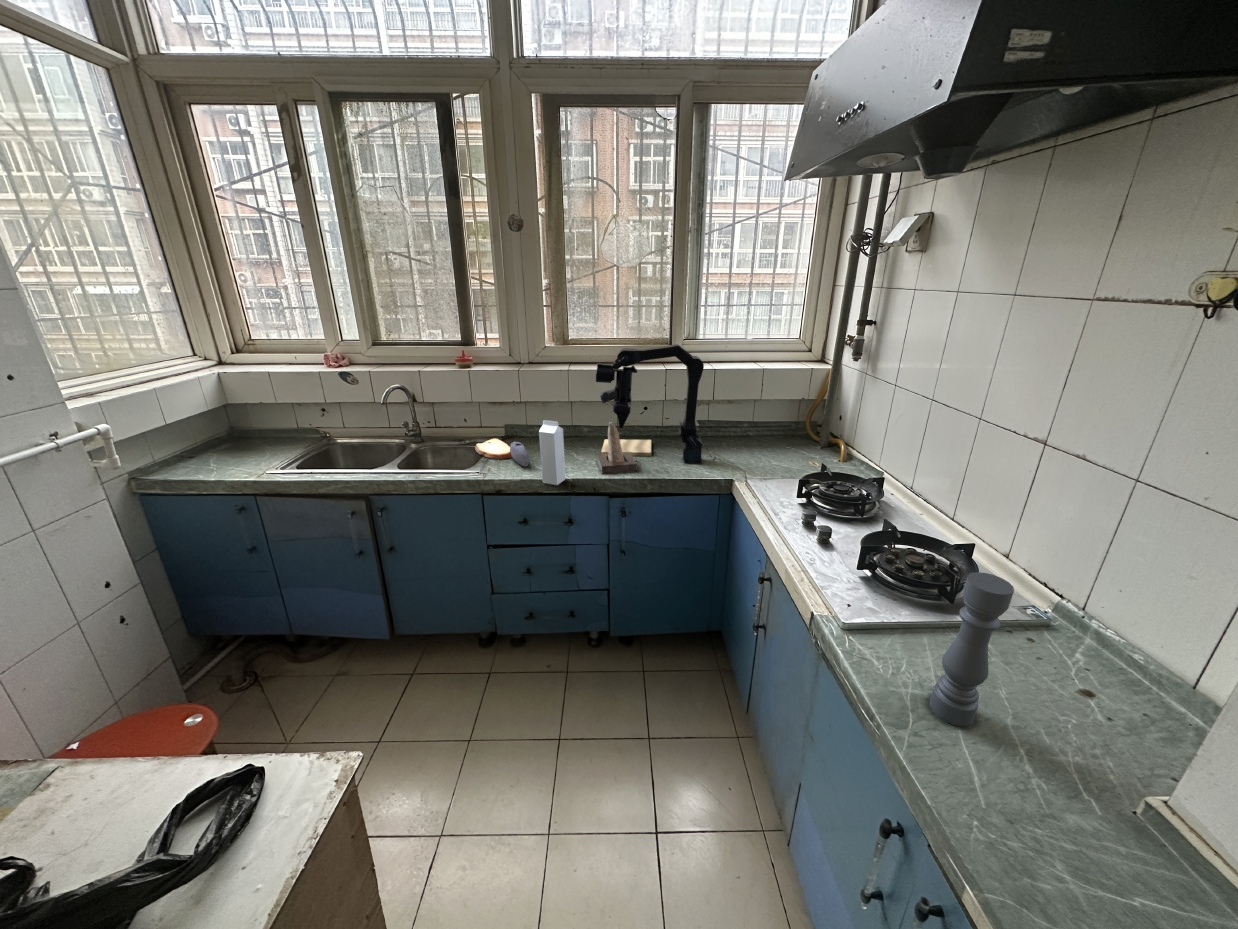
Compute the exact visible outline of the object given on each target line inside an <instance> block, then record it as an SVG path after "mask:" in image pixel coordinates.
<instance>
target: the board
mask: <svg viewBox="0 0 1238 929" xmlns="http://www.w3.org/2000/svg"><path fill="white" fill-rule="evenodd" d="M619 440H620V445H621V448H622V452H623V453H626V452H630V453H631V455H632V456H633V457H651V456H652V439H619ZM602 444H603V445H602V447H601V451H600V454H608V448H609V445H608V438H607V439H604V441H603V443H602Z"/></svg>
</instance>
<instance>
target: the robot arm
mask: <svg viewBox="0 0 1238 929" xmlns="http://www.w3.org/2000/svg"><path fill="white" fill-rule="evenodd" d="M665 358H666V359H667V358H676V359H678V361H680V362H681V364H683V365H685V368H686V376H687V377H686V378H687V389H686V401H685V412H684V418H683V421H679V429H678V434H679V437H680V438H681V442H682V443H684V447H683V448H682V461H684V462H683V463H684V464H700V465H701V464H703V461H702V451H703V450H702V449H703V447H702V446H703V442H702V440H701V437H700V436H699V435H698V434H697V424H696V415H697V404H698V394H699V393H698V392H699V385H700V381H701V378H702V376H703V372H704V367H705V364H704V362H703V361H702V359H701V358H700V357H699V356H697V355H692V354H691V353H690V352H689V351H687V350H685V349H684V348H683V347H682V346H681V345H680V344H678V343H677V344H676V343H675V344H671V345H664V346H658V347H657V346H656V347H650V348H631V347H630V348H629V347H624V348H621V349H619V351H618V353H617V356H616V359H615V360H614V361H613V362H612V364H609V363H607V364H606V363H601V362H600V363H597V365H596V373H595V383H603V384H605V383H606V384H611V383H612V382H613V381H615V386H614V388H612V389H609V390H606V391H602V392H600V394H599V397H600V401H601V403H602V404H606V403H607V402H612V401H614V403H613V405H612V406H613V407H612V412H613V413H614V414H616V416H617V420H618V427H619V429H623V428H624V426H625V424H626V422H627V420H628V418H629V416H630V414H631V410H632V408H631V407H632V385H633V384H632V383H633V374H637V373H638V369H637V368H636V366H635V365H636V364H638V363H641V362H643V361H650V360H651V361H653V360H659V359H665ZM615 378H616V379H615Z"/></svg>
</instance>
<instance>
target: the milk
mask: <svg viewBox="0 0 1238 929" xmlns="http://www.w3.org/2000/svg"><path fill="white" fill-rule="evenodd" d="M538 438H539V453H540V464H541V479H542V484H547V485H552V486H559V485H560V484H562V482H564V481H566V463H565V460H566V458H565V441H564V440H565V439H564V428H563V427H561V426H559V422H558V421H556V420H555V421H554V420H546V419H543V420H542V425H541V427H540V428H539V430H538Z"/></svg>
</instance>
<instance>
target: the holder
mask: <svg viewBox="0 0 1238 929" xmlns="http://www.w3.org/2000/svg"><path fill="white" fill-rule="evenodd" d="M623 457H624V461H625V462H616V463H608V459H609V458H608V454H601V453H600V454H596V462H597V465H598V467H599V470H600V472H601V474H602V475H609V474H622V473H634V472H638V463H637V461H636V460H635V458H634V456H632V455H631V453H630V452H626V453H623Z"/></svg>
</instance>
